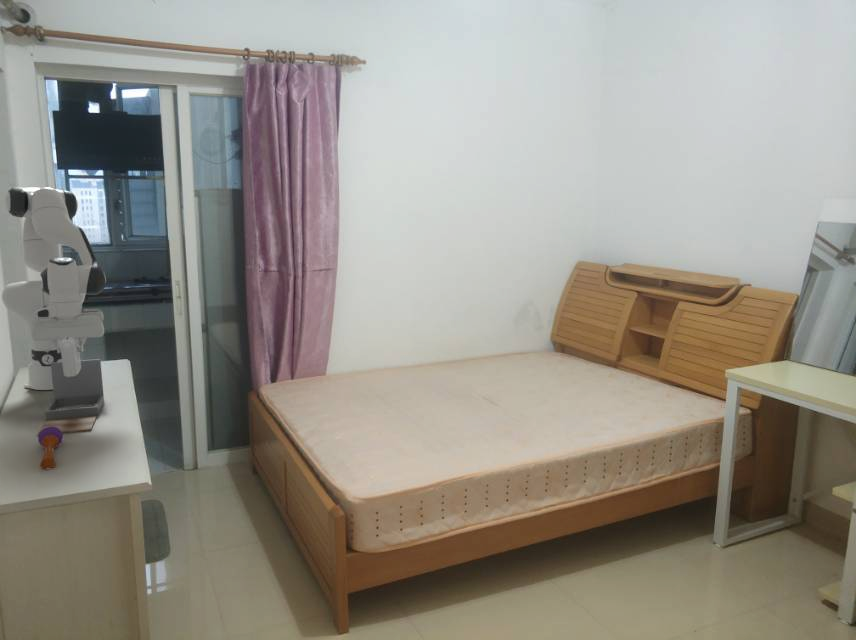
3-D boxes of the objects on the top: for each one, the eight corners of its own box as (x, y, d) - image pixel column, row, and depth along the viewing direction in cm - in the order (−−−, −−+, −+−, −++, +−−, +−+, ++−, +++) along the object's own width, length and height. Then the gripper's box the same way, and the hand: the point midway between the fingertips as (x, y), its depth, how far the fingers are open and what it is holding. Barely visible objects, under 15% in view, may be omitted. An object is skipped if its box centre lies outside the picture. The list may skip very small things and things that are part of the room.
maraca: (30, 457, 162) (35, 427, 179) (38, 478, 164) (42, 446, 181) (57, 449, 164) (59, 420, 182) (64, 469, 166) (66, 438, 184)
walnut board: (46, 422, 199) (46, 420, 199) (96, 417, 204) (96, 415, 204) (37, 436, 187) (37, 434, 187) (91, 430, 192) (90, 428, 192)
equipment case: (55, 406, 214) (51, 362, 211) (104, 401, 219) (100, 359, 216) (46, 420, 200) (41, 374, 197) (98, 415, 205) (94, 370, 202)
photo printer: (67, 368, 211) (63, 332, 208) (82, 367, 213) (78, 331, 210) (62, 378, 202) (58, 339, 199) (77, 376, 203) (73, 338, 200)
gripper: (104, 306, 209) (107, 347, 212) (32, 309, 203) (36, 352, 205) (101, 309, 204) (105, 352, 206) (27, 312, 197) (32, 356, 199)
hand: (70, 352), depth 206 cm, fingers closed on photo printer, 4 cm apart
